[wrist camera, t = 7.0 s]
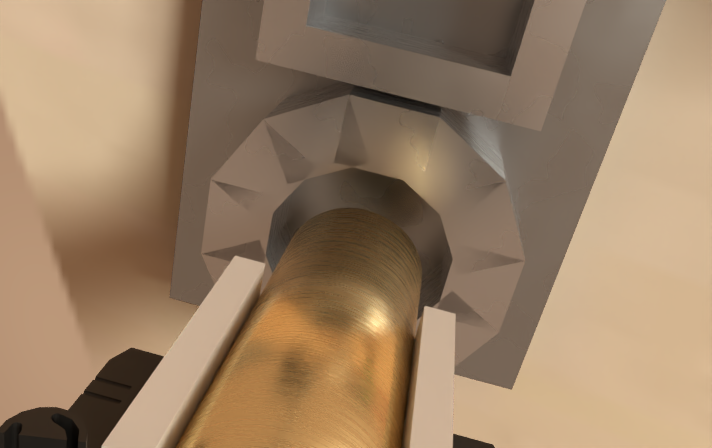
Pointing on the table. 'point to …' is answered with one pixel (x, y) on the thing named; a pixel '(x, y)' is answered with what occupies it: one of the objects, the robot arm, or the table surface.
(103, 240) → the table surface
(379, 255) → the brass cylinder peg
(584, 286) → the table surface
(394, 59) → the jig
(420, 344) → the robot arm
